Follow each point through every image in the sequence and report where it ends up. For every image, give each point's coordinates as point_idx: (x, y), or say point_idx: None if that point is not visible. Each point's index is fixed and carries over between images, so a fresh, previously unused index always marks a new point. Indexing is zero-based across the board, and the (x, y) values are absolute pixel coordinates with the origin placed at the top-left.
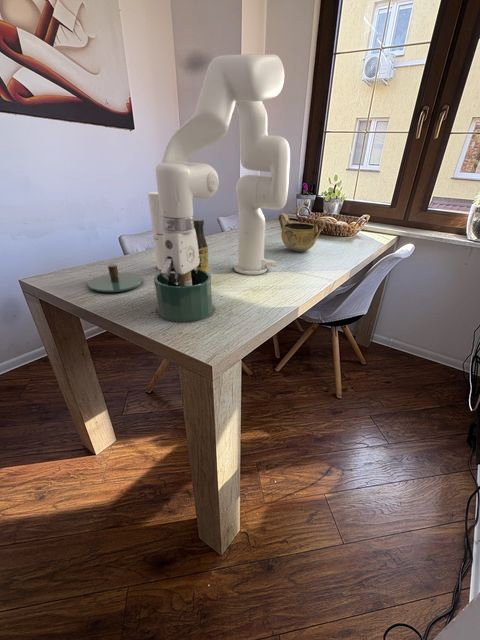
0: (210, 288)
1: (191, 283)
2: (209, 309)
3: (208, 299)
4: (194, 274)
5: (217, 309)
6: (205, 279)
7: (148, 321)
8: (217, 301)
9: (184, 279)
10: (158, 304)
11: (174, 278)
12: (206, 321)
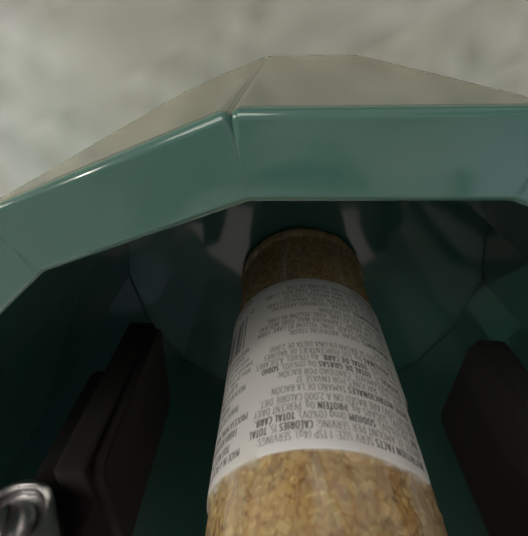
0: (279, 78)
1: (302, 396)
2: (328, 56)
3: (362, 65)
4: (94, 480)
5: (186, 27)
6: (20, 304)
7: None
8: (35, 107)
9: (436, 522)
10: None
11: (168, 529)
12: (467, 19)
